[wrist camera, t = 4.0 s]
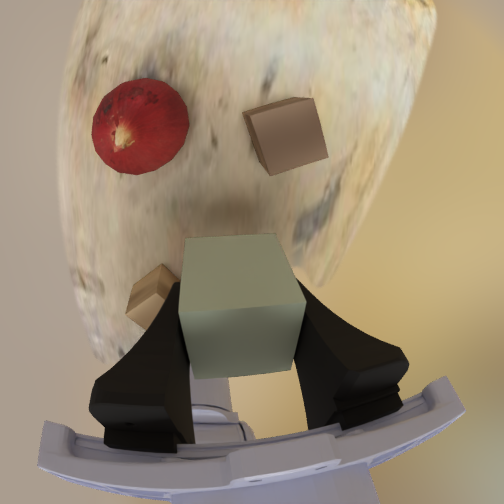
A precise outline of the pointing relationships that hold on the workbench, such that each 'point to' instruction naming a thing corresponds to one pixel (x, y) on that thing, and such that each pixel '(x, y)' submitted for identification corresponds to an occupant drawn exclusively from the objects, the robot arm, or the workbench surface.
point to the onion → (140, 126)
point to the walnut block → (286, 134)
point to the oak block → (150, 296)
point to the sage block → (239, 306)
